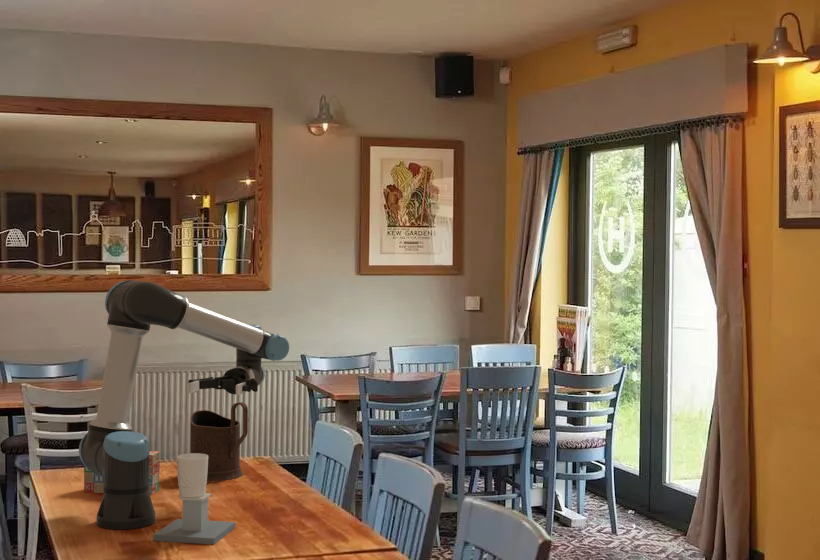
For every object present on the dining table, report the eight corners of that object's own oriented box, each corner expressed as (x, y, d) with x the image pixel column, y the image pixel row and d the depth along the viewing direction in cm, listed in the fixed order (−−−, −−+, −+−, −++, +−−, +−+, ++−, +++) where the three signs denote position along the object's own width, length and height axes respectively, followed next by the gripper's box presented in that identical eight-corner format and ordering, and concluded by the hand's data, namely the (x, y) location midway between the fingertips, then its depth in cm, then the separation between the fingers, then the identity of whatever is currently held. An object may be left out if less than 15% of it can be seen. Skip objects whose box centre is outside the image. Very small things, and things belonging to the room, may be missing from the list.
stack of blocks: (83, 492, 309) (83, 451, 308) (91, 488, 315) (92, 448, 314) (152, 495, 306) (152, 454, 306) (159, 490, 313) (160, 450, 312)
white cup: (190, 500, 259) (191, 460, 259) (170, 495, 264) (170, 456, 264) (214, 494, 265) (214, 455, 265) (193, 490, 270) (194, 452, 270)
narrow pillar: (153, 540, 258) (153, 500, 258) (177, 524, 274) (177, 486, 273) (214, 544, 255) (214, 504, 255) (235, 527, 271) (235, 489, 271)
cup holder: (218, 467, 348) (219, 393, 347) (267, 477, 333) (267, 400, 332) (173, 475, 334) (174, 398, 333) (222, 487, 318) (223, 406, 318)
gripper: (279, 394, 301) (257, 404, 280) (197, 391, 304) (169, 401, 283) (279, 368, 300) (257, 377, 279) (197, 366, 304) (169, 374, 283)
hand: (213, 389), depth 281 cm, fingers open, 13 cm apart
